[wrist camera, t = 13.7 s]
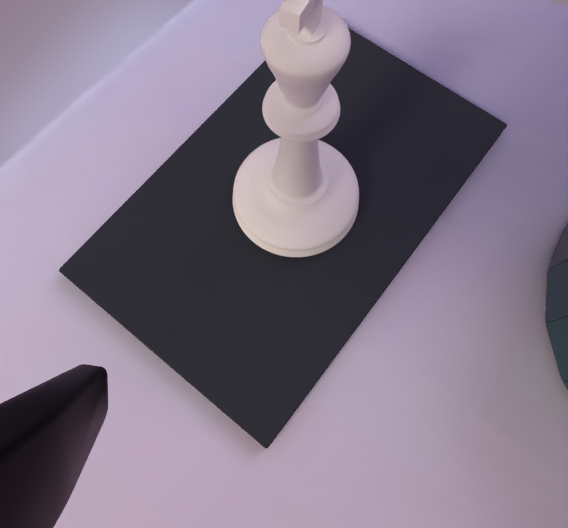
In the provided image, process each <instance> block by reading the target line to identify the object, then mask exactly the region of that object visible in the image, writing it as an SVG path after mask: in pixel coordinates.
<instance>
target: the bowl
mask: <svg viewBox="0 0 568 528" xmlns="http://www.w3.org/2000/svg"><path fill="white" fill-rule="evenodd" d="M545 322H546V327H547V330H548V334H549V337H550V341H551V345H552V348H553V352H554V355H555V359H556V362H557V366H558V370H559V373H560V377H561V379H562V380H563V383H564V385H565V387H566V388H567V390H568V225H567V227H566V228H565V230H564V233H563V235H562V237H561V240H560V242H559V244H558V247H557V249H556V252H555V254H554V256H553V259H552V261H551V263H550V266H549V268H548V271H547V293H546V318H545Z"/></svg>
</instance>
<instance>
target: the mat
mask: <svg viewBox="0 0 568 528" xmlns="http://www.w3.org/2000/svg"><path fill="white" fill-rule="evenodd" d="M348 29H349V28H348ZM349 32H350V37H351V46H350V51H349V54H348V56H347V59H346V61H345V62H344V64H343V66H342V67H341V69H340V70H339V72H338V73H337V74H336V75H335V77H334V78H333V79H332V80H331V82H330V84H331V85H332V86H333V88H334V89H335V91H336V93H337V95H338V99H339V102H340V116H339V119H338V122H337V124H336V125H335V127H334V128H333V129H332V130H331V131H330V132H329V133H328V134H327V135H325V136H324V137H322V138H320V139H318V140H320V141H322V142H325V143H327V144H329V145H330V146H332V147H333V148H335V149H336V150H337V151H339V152H340V153H341V154H342V155H343V156H344V157H345V158H346V159H347V161H348V162H349V163H350V165H351V167H352V168H353V170H354V172H355V175H356V178H357V181H358V186H359V206H358V212H357V216H356V219H355V221H354V223H353V225H352V227H351V229H350V230H349V232H348V233H347V234H346V236H345V237H344V238H343V239H342V240H341V241H340V242H338V243H337V244H336V245H335V246H333V247H331V248H330V249H328V250H326V251H324V252H322V253H319V254H316V255H312V256H307V257H286V256H280V255H277V254H274V253H271V252H269V251H266V250H264V249H263V248H261V247H259V246H258V245H256V244H255V243H254V242H253V241H251V240H250V239H249V238H248V237H247V235H246V234H245V233H244V232H243V230H242V229H241V227H240V226H239V224H238V222H237V219H236V217H235V213H234V209H233V187H234V181H235V177H236V174H237V172H238V170H239V168H240V166H241V164H242V163H243V161H244V160H245V159H246V158H247V157H248V155H249V154H250V153H252V152H253V151H254V150H255V149H256V148H258V147H259V146H261V145H263V144H265V143H267V142H269V141H271V140H274V139H277V138H281V137H280V136H278V135H277V134H275V133H274V132H273V131H272V130H271V129H270V128H269V127H268V125H267V124H266V122H265V120H264V117H263V113H262V104H263V100H264V97H265V95H266V92H267V90H268V89H269V87H270V86H271V85H272V83H273V82H275V81H276V78H275V76H274V75H273V73H272V72H271V70H270V69H269V67H268V65H267V63H266V61H264V62H263V63H262V64H261V65H260V66H259V67H258V68H257V69H256V70H255V71H254V72H253V73H252V74H251V75H250V77H249V78H248V79H247V80H246V81H245V82H244V83H243V84H242V85H241V86H240V87H239V88H238V89H237V90H236V91H235V92H234V93H233V94H232V95H231V96H230V97H229V98H228V99H227V100H226V101H225V102H224V103H223V104H222V105H221V106H220V107H219V108H218V109H217V110H216V111H215V112H214V113H213V114H212V115H211V116H210V117H209V118H208V119H207V120H206V121H205V122H204V123H203V124H202V125H201V126H200V127H199V128H198V129H197V130H196V131H195V132H194V133H193V134H192V135H191V136H190V137H189V138H188V139H187V140H186V141H185V142H184V143H183V144H182V145H181V146H180V147H179V148H178V149H177V150H176V151H175V152H174V153H173V154H172V156H171V157H170V158H169V159H168V160H167V161H166V162H165V163H164V164H163V165H162V166H161V167H160V168H159V169H158V170H157V171H156V172H155V173H154V174H153V175H152V176H151V177H150V178H149V179H148V180H147V181H146V182H145V183H144V184H143V185H142V186H141V187H140V188H139V189H138V190H137V191H136V192H135V193H134V194H133V195H132V196H131V197H130V198H129V199H128V200H127V201H126V202H125V203H124V204H123V205H122V206H121V207H120V208H119V209H118V210H117V211H116V212H115V213H114V214H113V215H112V216H111V217H110V218H109V219H108V220H107V221H106V222H105V223H104V224H103V225H102V226H101V227H100V228H99V229H98V230H97V231H96V232H95V234H94V235H93V236H92V237H91V238H90V239H89V240H88V241H87V242H86V243H85V244H84V245H83V246H82V247H81V248H80V249H79V250H78V251H77V252H76V253H75V254H74V255H73V256H72V257H71V258H70V259H69V260H68V261H67V262H66V263H65V264H64V265H63V266H62V267H61V268H60V269H59V271H60V272H61V273H62V274H63V275H64V276H65V277H67V278H68V279H69V280H70V281H71V282H72V283H74V284H75V285H76V286H77V287H78V288H79V289H81V290H82V291H83V292H84V293H85V294H86V295H88V296H89V297H90V298H91V299H92V300H93V301H95V302H96V303H97V304H98V305H99V306H100V307H102V308H103V309H104V310H105V311H106V312H107V313H109V314H110V315H111V316H112V317H113V318H114V319H116V320H117V321H118V322H119V323H120V324H121V325H123V326H124V327H125V328H126V329H127V330H128V331H130V332H131V333H132V334H133V335H134V336H135V337H137V338H138V339H139V340H140V341H141V342H142V343H143V344H145V345H146V346H147V347H148V348H149V349H150V350H152V351H153V352H154V353H155V354H156V355H157V356H159V357H160V358H161V359H162V360H163V361H164V362H166V363H167V364H168V365H169V366H170V367H171V368H173V369H174V370H175V371H176V372H177V373H178V374H180V375H181V376H182V377H183V378H184V379H185V380H187V381H188V382H189V383H190V384H191V385H192V386H194V387H195V388H196V389H197V390H198V391H199V392H201V393H202V394H203V395H204V396H205V397H206V398H208V399H209V400H210V401H211V402H212V403H213V404H215V405H216V406H217V407H218V408H219V409H220V410H221V411H223V412H224V413H225V414H226V415H227V416H228V417H230V418H231V419H232V420H233V421H234V422H235V423H237V424H238V425H239V426H240V427H241V428H242V429H244V430H245V431H246V432H247V433H248V434H249V435H251V436H252V437H253V438H254V439H255V440H256V441H258V442H259V443H260V444H261V445H262V446H263V447H265V448H268V447H269V446H270V444H271V443H272V442H273V440H274V439H275V438H276V436H277V435H278V433H279V432H280V431H281V429H282V428H283V427H284V425H285V424H286V423H287V421H288V420H289V419H290V417H291V416H292V415H293V413H294V412H295V411H296V409H297V408H298V406H299V405H300V404H301V402H302V401H303V400H304V398H305V397H306V396H307V394H308V393H309V392H310V390H311V389H312V388H313V386H314V385H315V384H316V382H317V381H318V380H319V378H320V377H321V375H322V374H323V373H324V371H325V370H326V369H327V367H328V366H329V365H330V363H331V362H332V361H333V359H334V358H335V357H336V355H337V354H338V353H339V351H340V350H341V349H342V347H343V346H344V344H345V343H346V342H347V340H348V339H349V338H350V336H351V335H352V334H353V332H354V331H355V330H356V328H357V327H358V326H359V324H360V323H361V322H362V320H363V319H364V318H365V316H366V315H367V313H368V312H369V311H370V309H371V308H372V307H373V305H374V304H375V303H376V301H377V300H378V299H379V297H380V296H381V295H382V293H383V292H384V291H385V289H386V288H387V287H388V285H389V284H390V282H391V281H392V280H393V278H394V277H395V276H396V274H397V273H398V272H399V270H400V269H401V268H402V266H403V265H404V264H405V262H406V261H407V260H408V258H409V257H410V256H411V254H412V253H413V251H414V250H415V249H416V247H417V246H418V245H419V243H420V242H421V241H422V239H423V238H424V237H425V235H426V234H427V233H428V231H429V230H430V229H431V227H432V226H433V225H434V223H435V222H436V220H437V219H438V218H439V216H440V215H441V214H442V212H443V211H444V210H445V208H446V207H447V206H448V204H449V203H450V202H451V200H452V199H453V198H454V196H455V195H456V194H457V192H458V191H459V189H460V188H461V187H462V185H463V184H464V183H465V181H466V180H467V179H468V177H469V176H470V175H471V173H472V172H473V171H474V169H475V168H476V167H477V165H478V164H479V163H480V161H481V160H482V158H483V157H484V156H485V154H486V153H487V152H488V150H489V149H490V148H491V146H492V145H493V144H494V142H495V141H496V140H497V138H498V137H499V136H500V134H501V133H502V132H503V130H504V129H505V127H506V126H507V124H505V123H504V122H502V121H500V120H499V119H497V118H495V117H494V116H492V115H490V114H489V113H487V112H485V111H484V110H482V109H481V108H479V107H477V106H476V105H474V104H472V103H471V102H469V101H467V100H466V99H464V98H462V97H461V96H459V95H458V94H456V93H454V92H453V91H451V90H449V89H448V88H446V87H444V86H443V85H441V84H439V83H438V82H436V81H435V80H433V79H431V78H430V77H428V76H426V75H425V74H423V73H421V72H420V71H418V70H416V69H415V68H413V67H412V66H410V65H408V64H407V63H405V62H403V61H402V60H400V59H398V58H397V57H395V56H393V55H392V54H390V53H389V52H387V51H385V50H384V49H382V48H380V47H379V46H377V45H375V44H374V43H372V42H370V41H369V40H367V39H366V38H364V37H362V36H361V35H359V34H357V33H356V32H354V31H352V30H351V29H349Z"/></svg>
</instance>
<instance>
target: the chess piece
mask: <svg viewBox="0 0 568 528" xmlns="http://www.w3.org/2000/svg"><path fill="white" fill-rule="evenodd" d="M322 2H323V0H284V1H283V2H282V4H281V5H280V7H279V10H278V11H276V12H275V13H274V14H273V15H271V16H270V18H269V19H268V20H267V21H266V23H265V25H264V27H263V29H262V33H261V49H262V53H263V56H264V58H265V61H266V63H267V65H268V67H269V69H270V70H271V72H272V73H273V75H274V76H275V78H276V81H275V82H273V83H272V85H271V86H270V87H269V89H268V90H267V92H266V95H265V97H264V100H263V104H262V113H263V117H264V120H265V122H266V124H267V125H268V127H269V128H270V129H271V130H272V131H273V132H274V133H275V134H277V135H278V136H280V137H281V138H277V139H274V140H271V141H269V142H267V143H265V144H263V145H261V146H259V147H258V148H256V149H255V150H254V151H253V152H252V153H250V154H249V155H248V157H247V158H246V159H245V160H244V161H243V163H242V164H241V166H240V168H239V170H238V172H237V174H236V177H235V181H234V187H233V209H234V213H235V217H236V219H237V222H238V224H239V226H240V227H241V229H242V230H243V232H244V233H245V234H246V235H247V237H248V238H249V239H250V240H251V241H253V242H254V243H255V244H256V245H258V246H259V247H261V248H263V249H264V250H266V251H269V252H271V253H274V254H277V255H280V256H286V257H307V256H312V255H316V254H319V253H322V252H324V251H326V250H328V249H330V248H331V247H333V246H335V245H336V244H337V243H338V242H340V241H341V240H342V239H343V238H344V237H345V236H346V234H347V233H348V232H349V230H350V229H351V227H352V225H353V223H354V221H355V219H356V216H357V212H358V206H359V186H358V181H357V178H356V175H355V172H354V170H353V168H352V167H351V165H350V163H349V162H348V161H347V159H346V158H345V157H344V156H343V155H342V154H341V153H340V152H339V151H337V150H336V149H335V148H333V147H332V146H330V145H329V144H327V143H325V142H322V141H320V140H318V139H320V138H322V137H324V136H325V135H327V134H328V133H329V132H330V131H331V130H332V129H333V128H334V127H335V125H336V124H337V122H338V119H339V116H340V102H339V99H338V95H337V93H336V91H335V89H334V88H333V86H332V85H331V84H330V82H331V80H332V79H333V78H334V77H335V75H336V74H337V73H338V72H339V70H340V69H341V67H342V66H343V64H344V62H345V61H346V59H347V56H348V54H349V51H350V46H351V37H350V32H349V29H348V27H347V25H346V23H345V22H344V20H343V19H342V18H341V17H340V16H339V15H338V14H337V13H336V12H334V11H333V10H331V9H329V8H327V7H325V6H323V5H322Z"/></svg>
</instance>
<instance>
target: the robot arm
mask: <svg viewBox="0 0 568 528" xmlns="http://www.w3.org/2000/svg"><path fill="white" fill-rule="evenodd" d="M107 410H108V381H107V372H106V370H105V369H104V368H103V367H99V366H92V365H85V364H83V365H79V366H77V367H75V368H73V369H71V370H69V371H67V372H65V373H62V374H60V375H58V376H56V377H54V378H52V379H50V380H48V381H46V382H44V383H42V384H40V385H38V386H36V387H34V388H32V389H30V390H28V391H26V392H23V393H21V394H19V395H17V396H15V397H13V398H11V399H9V400H7V401H5V402H3V403H1V404H0V528H53V527H54V525H55V524H56V522H57V520H58V518H59V517H60V515H61V513H62V511H63V509H64V507H65V506H66V504H67V502H68V500H69V498H70V496H71V494H72V491H73V489H74V487H75V485H76V483H77V480H78V478H79V476H80V474H81V471H82V469H83V467H84V465H85V462H86V460H87V458H88V456H89V454H90V451H91V449H92V447H93V445H94V442H95V440H96V438H97V436H98V433H99V431H100V429H101V427H102V424H103V422H104V420H105V417H106V414H107Z"/></svg>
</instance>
